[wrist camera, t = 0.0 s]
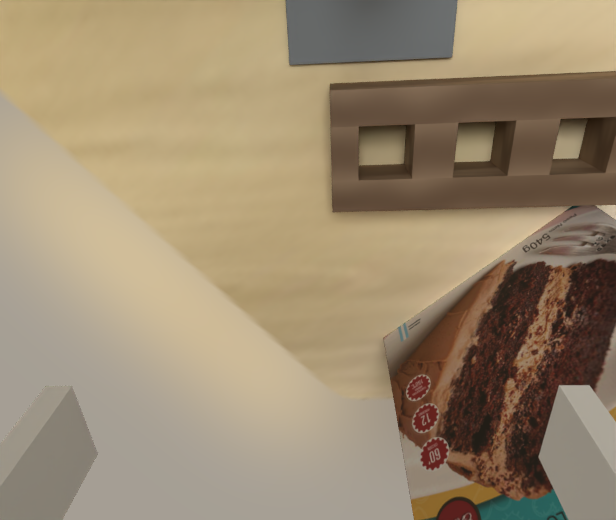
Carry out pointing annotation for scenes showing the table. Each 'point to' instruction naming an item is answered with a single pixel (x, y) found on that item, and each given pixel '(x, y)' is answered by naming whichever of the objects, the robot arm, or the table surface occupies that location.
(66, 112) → the table surface
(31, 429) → the robot arm
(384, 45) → the mat
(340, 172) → the hole block
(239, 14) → the table surface
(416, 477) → the cake mix box
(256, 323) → the table surface
